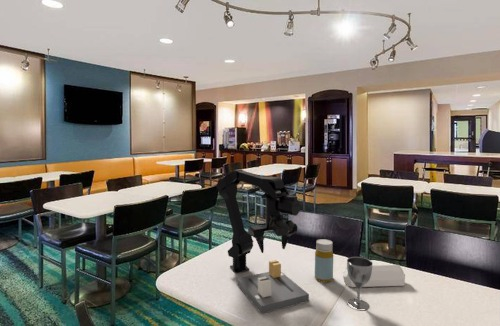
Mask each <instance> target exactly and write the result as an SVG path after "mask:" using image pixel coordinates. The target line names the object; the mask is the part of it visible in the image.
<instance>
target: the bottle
mask: <svg viewBox="0 0 500 326" xmlns="http://www.w3.org/2000/svg"><path fill="white" fill-rule="evenodd" d="M315 244H316V246H315V248H316V249H315V251H314V279H316V280H317V281H318V282H322V283H329V282H331V281H332V280H333V279H334V252H333V249H334V247H333V241H332V240H330V239H323V238H322V239H316V243H315Z"/></svg>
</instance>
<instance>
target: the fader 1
mask: <svg viewBox="0 0 500 326" xmlns="http://www.w3.org/2000/svg"><path fill="white" fill-rule="evenodd" d="M258 293H259V294H260V295H261V296H262V297H267V296H271V281H270V280H269V278H267V277H266V276H265V277H261V278H258Z"/></svg>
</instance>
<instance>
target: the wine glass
mask: <svg viewBox="0 0 500 326" xmlns="http://www.w3.org/2000/svg"><path fill="white" fill-rule="evenodd" d="M372 266H373V261H372V260H371V259H368V258H366V257H362V256H351V257H348V258H347V260H346V267H347V271H348V275H349V278H350V279H351V280H352V282H353V283H354V284H355V286H356V287H355V288H356V296H357V297H356V298H350V299H348V303H349V304H350V305H352V306H353V307H355V308H357V309H365V310H364V311H367V310H369V309H370V304H369V303H368V302H367V301H366V300H363V299H361V296H360V295H361V289H362V288H363V287H362V286H363V285H365V284H366V283H367V282H368V281H369V280H370V277H371V274H372ZM360 299H361V300H360Z"/></svg>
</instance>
